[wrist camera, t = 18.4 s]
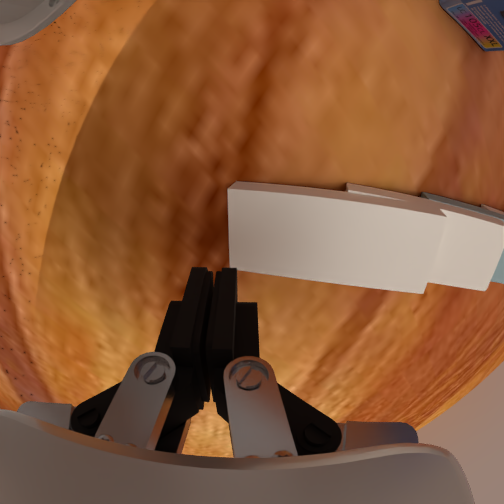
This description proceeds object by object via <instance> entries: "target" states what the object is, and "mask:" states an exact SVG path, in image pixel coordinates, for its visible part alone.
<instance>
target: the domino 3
mask: <svg viewBox="0 0 504 504" xmlns="http://www.w3.org/2000/svg"><path fill="white" fill-rule="evenodd" d="M421 198H425V199H429V200H433V201H437V202H441V203H445V204H449V205H453V206H457V207H461V208H464V209H468V210H471V211H475V212H478V213H482V214H485V215H488V216H492V217H495V218H498V219H501V220H502V221H503V222H504V215H503V214H500V213H496V212H493V211H490V210H487V209H484V208H480V207H477V206H474V205H470V204H467V203H463V202H460V201H456V200H452V199H449V198H445V197H441V196H437V195H433V194H429V193H425V192H422V194H421ZM491 281H492V282H498V283H503V284H504V249H503V252H502V255H501V257H500V260H499V262H498V264H497V267H496V269H495V272H494V274H493V276H492V278H491Z"/></svg>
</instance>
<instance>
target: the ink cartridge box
mask: <svg viewBox="0 0 504 504" xmlns="http://www.w3.org/2000/svg"><path fill="white" fill-rule="evenodd" d="M439 3H440V5H441V7H442V8H443V9H444V10H445V11H446V12H447V13H448V14H450V15H451V16H452V17H453V18H454V19H455V20H456V21H457V22H458V23H459V24H460V25H461V26H462V27H463V28H464V29H465V30H466V31H467V32H468V33H469V34H470V35H471V37H472V38H473V39H474V40H475V41H476V42H477V43H478V44H479V45H480V47H481V48H482V49H483V50H484V51H504V0H439Z"/></svg>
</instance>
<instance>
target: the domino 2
mask: <svg viewBox="0 0 504 504" xmlns="http://www.w3.org/2000/svg"><path fill="white" fill-rule="evenodd" d="M345 192H351V193H358V194H365V195H372V196H379V197H385V198H391V199H397V200H403V201H409V202H414V203H420V204H425V205H430V206H435V207H438V208H439V209H440V210H441V211H442V212H443V213H444V214H445V215H446V216H447V220H446V224H445V228H444V232H443V235H442V239H441V242H440V246H439V249H438V252H437V255H436V259H435V262H434V265H433V268H432V271H431V274H430V276H429V279H428V282H430V283H436V284H443V285H449V286H455V287H462V288H468V289H474V290H481V291H486V289H487V287H488V285H489V283H490V281H491V278H492V276H493V274H494V272H495V269H496V267H497V264H498V262H499V260H500V257H501V255H502V252H503V249H504V222H503V221H502V220H501V219H498V218H495V217H492V216H488V215H485V214H482V213H478V212H475V211H471V210H468V209H464V208H461V207H457V206H453V205H449V204H445V203H441V202H437V201H433V200H429V199H425V198H421V197H416V196H412V195H407V194H403V193H398V192H393V191H388V190H383V189H378V188H373V187H368V186H362V185H357V184H351V183H347V184H346V190H345Z"/></svg>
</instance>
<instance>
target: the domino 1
mask: <svg viewBox="0 0 504 504" xmlns="http://www.w3.org/2000/svg"><path fill="white" fill-rule="evenodd" d="M446 220H447V216H446V215H445V214H444V213H443V212H442V211H441V210H440V209H439V208H438V207H435V206H430V205H425V204H420V203H414V202H409V201H403V200H397V199H391V198H385V197H379V196H372V195H365V194H358V193H351V192H343V191H336V190H328V189H319V188H310V187H301V186H291V185H280V184H268V183H256V182H241V181H236V182H235V183H234V184H232V185H231V186H230V187H229V188H228V228H229V259H230V268H237V270H240V271H247V272H254V273H261V274H268V275H276V276H283V277H290V278H297V279H305V280H312V281H320V282H328V283H336V284H343V285H351V286H359V287H368V288H376V289H384V290H393V291H401V292H410V293H419V294H423V293H424V290H425V288H426V285H427V282H428V279H429V276H430V274H431V271H432V268H433V265H434V262H435V259H436V255H437V252H438V249H439V246H440V242H441V239H442V235H443V232H444V228H445V224H446Z"/></svg>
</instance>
